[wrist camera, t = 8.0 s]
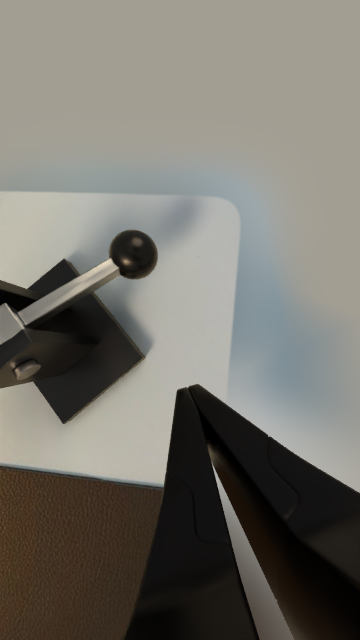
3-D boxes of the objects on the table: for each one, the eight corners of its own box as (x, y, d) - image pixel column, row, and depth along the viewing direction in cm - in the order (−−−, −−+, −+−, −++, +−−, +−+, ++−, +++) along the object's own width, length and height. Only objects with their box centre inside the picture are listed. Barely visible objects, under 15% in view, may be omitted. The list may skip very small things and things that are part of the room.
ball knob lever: (138, 241, 20) (138, 210, 17) (164, 272, 20) (170, 246, 17) (-18, 333, 16) (-59, 316, 13) (10, 374, 16) (-24, 368, 12)
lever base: (70, 262, 24) (-19, 204, 14) (145, 357, 22) (105, 366, 12) (-1, 321, 23) (-140, 303, 14) (70, 420, 22) (-31, 479, 12)
